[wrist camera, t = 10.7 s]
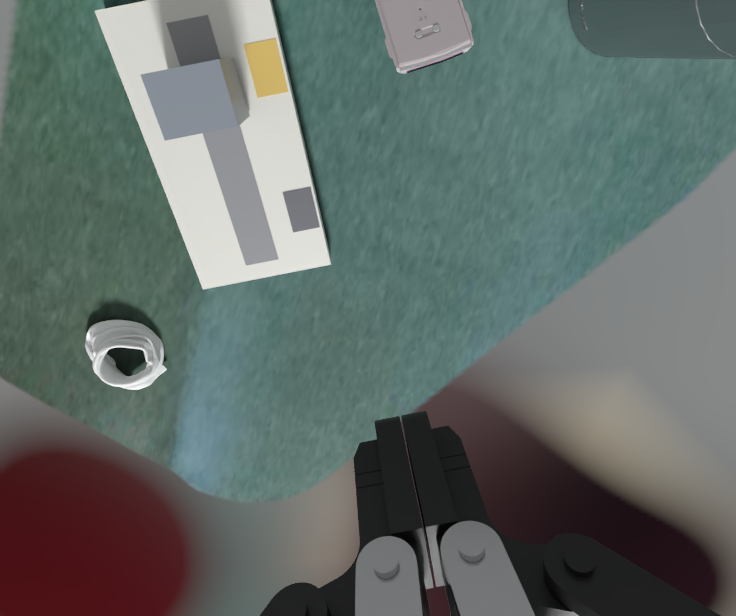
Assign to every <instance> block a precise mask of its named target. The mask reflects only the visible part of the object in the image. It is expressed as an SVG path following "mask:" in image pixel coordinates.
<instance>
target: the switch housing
mask: <svg viewBox="0 0 736 616" xmlns="http://www.w3.org/2000/svg"><path fill="white" fill-rule="evenodd" d="M95 13H96V16H97V19H98V21H99V24H100V26H101V29H102V31H103V34H104V37H105V39H106V42H107V44H108V47H109V49H110V52H111V55H112V57H113V60H114V62H115V65H116V67H117V70H118V72H119V75H120V78H121V80H122V83H123V85H124V88H125V90H126V93H127V96H128V98H129V101H130V103H131V106H132V108H133V111H134V114H135V116H136V119H137V121H138V124H139V126H140V129H141V132H142V134H143V137H144V139H145V142H146V144H147V147H148V149H149V152H150V155H151V157H152V160H153V162H154V165H155V167H156V170H157V173H158V175H159V178H160V180H161V183H162V185H163V188H164V191H165V193H166V196H167V198H168V201H169V203H170V206H171V209H172V211H173V214H174V216H175V219H176V221H177V224H178V226H179V229H180V232H181V234H182V237H183V239H184V242H185V244H186V247H187V250H188V252H189V255H190V257H191V260H192V262H193V265H194V268H195V270H196V273H197V275H198V278H199V280H200V283H201V286H202V288H203V289H208V288H213V287H219V286H224V285H229V284H234V283H239V282H244V281H249V280H254V279H259V278H264V277H270V276H275V275H280V274H285V273H290V272H295V271H300V270H305V269H310V268H316V267H321V266H326V265H331V256H330V252H329V247H328V243H327V239H326V234H325V230H324V226H323V221H322V217H321V213H320V208H319V204H318V199H317V195H316V191H315V186H314V182H313V178H312V173H311V169H310V165H309V160H308V156H307V152H306V147H305V143H304V138H303V134H302V130H301V125H300V121H299V117H298V112H297V108H296V104H295V99H294V95H293V90H292V86H291V82H290V77H289V73H288V69H287V64H286V60H285V56H284V51H283V47H282V42H281V38H280V34H279V29H278V25H277V21H276V16H275V12H274V8H273V3H272V0H146V1H141V2H136V3H131V4H126V5H121V6H116V7H111V8H106V9H101V10H96V11H95ZM228 58H234V61H235V64H236V68H237V72H238V75H239V79H240V83H241V86H242V90H243V93H244V97H245V101H246V104H247V108H248V111H249V115H250V116H249V117H248V118H247V119H246V120H245V121H244V122H243V123H241V124H240V125H239V126H237V127H232V128H227V129H221V130H216V131H211V132H206V133H201V134H196V135H191V136H186V137H181V138H176V139H171V140H166V141H165V140H164V137H163V134H162V132H161V129H160V126H159V124H158V121H157V118H156V116H155V113H154V110H153V107H152V105H151V102H150V99H149V97H148V94H147V91H146V88H145V86H144V83H143V80H142V78H141V74H146V73H151V72H156V71H161V70H166V69H171V68H176V67H181V66H186V65H191V64H196V63H201V62H206V61H211V60H216V59H228Z"/></svg>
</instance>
